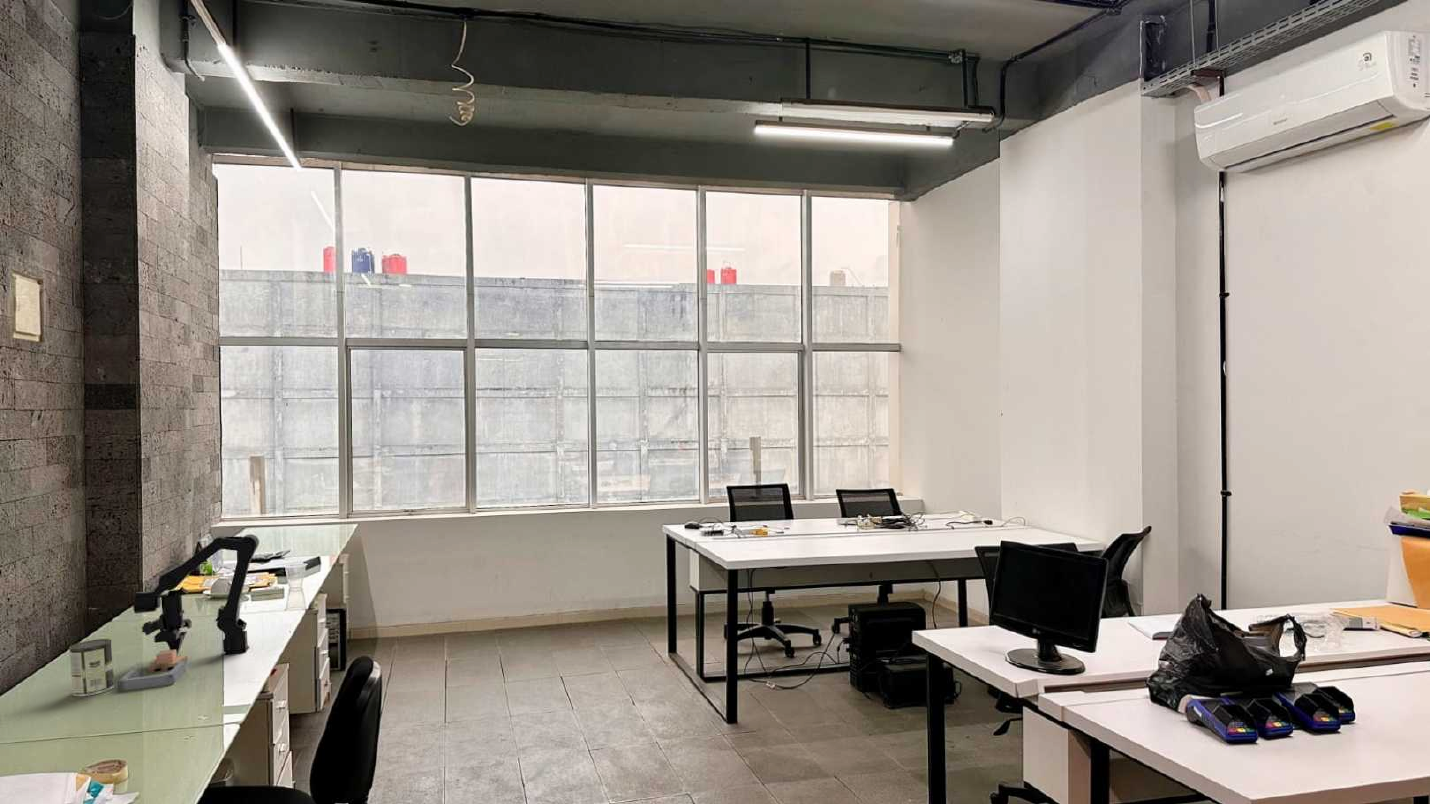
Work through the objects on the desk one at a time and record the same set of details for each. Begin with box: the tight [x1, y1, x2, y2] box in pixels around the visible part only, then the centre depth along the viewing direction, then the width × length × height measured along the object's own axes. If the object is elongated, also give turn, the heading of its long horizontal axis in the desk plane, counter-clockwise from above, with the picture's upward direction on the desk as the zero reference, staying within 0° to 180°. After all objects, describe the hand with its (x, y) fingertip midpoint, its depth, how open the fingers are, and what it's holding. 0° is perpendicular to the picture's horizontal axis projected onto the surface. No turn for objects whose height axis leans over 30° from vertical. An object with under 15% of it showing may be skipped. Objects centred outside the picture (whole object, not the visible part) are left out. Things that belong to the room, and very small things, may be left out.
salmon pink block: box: [156, 649, 178, 664], centre depth 280 cm, size 4×4×3 cm
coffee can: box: [68, 638, 115, 697], centre depth 260 cm, size 10×10×14 cm
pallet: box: [147, 654, 189, 674], centre depth 281 cm, size 9×9×2 cm
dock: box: [117, 662, 187, 692], centre depth 266 cm, size 14×14×3 cm
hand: (175, 656), depth 288 cm, fingers closed
